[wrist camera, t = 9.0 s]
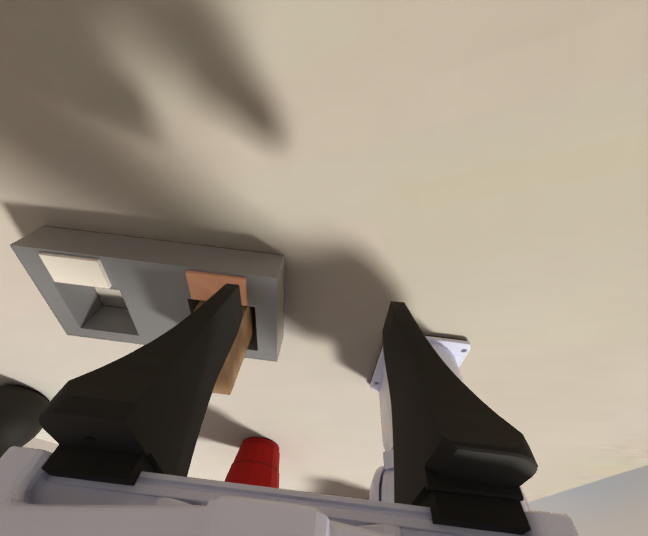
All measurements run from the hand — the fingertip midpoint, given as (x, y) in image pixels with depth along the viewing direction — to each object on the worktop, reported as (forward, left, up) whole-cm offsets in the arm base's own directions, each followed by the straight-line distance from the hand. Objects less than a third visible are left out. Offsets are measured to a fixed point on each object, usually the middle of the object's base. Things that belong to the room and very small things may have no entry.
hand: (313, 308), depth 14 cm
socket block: (-9, +13, -9) cm, 18 cm away
